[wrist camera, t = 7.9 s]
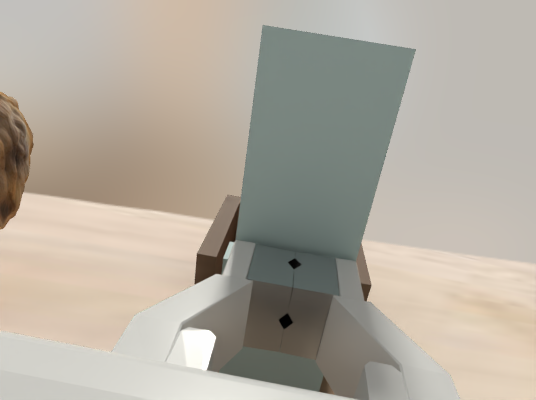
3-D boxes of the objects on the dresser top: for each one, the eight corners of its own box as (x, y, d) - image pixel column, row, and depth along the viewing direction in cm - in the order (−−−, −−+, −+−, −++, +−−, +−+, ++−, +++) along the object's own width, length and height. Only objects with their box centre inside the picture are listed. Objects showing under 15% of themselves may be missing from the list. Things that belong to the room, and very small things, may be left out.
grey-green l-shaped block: (192, 403, 12) (227, 19, 8) (221, 313, 16) (255, 24, 11) (331, 430, 12) (452, 55, 7) (326, 333, 16) (403, 48, 11)
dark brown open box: (191, 329, 17) (196, 253, 16) (220, 255, 23) (227, 194, 21) (348, 358, 17) (371, 285, 15) (339, 277, 23) (355, 217, 21)
